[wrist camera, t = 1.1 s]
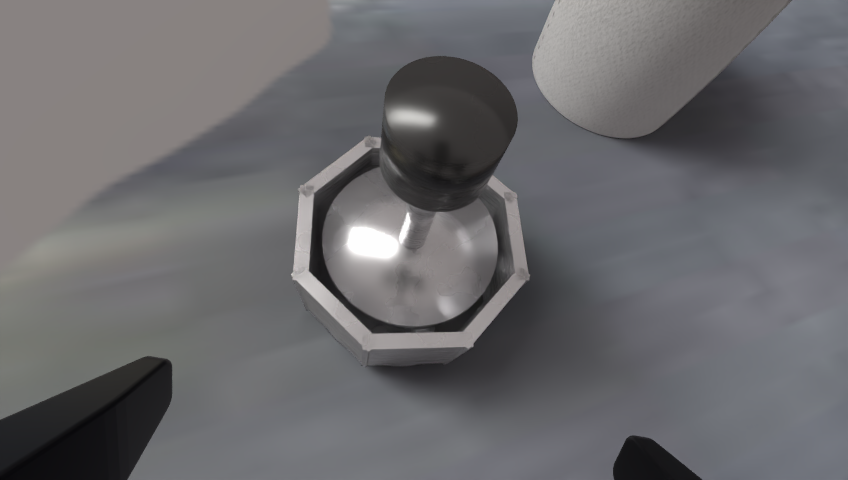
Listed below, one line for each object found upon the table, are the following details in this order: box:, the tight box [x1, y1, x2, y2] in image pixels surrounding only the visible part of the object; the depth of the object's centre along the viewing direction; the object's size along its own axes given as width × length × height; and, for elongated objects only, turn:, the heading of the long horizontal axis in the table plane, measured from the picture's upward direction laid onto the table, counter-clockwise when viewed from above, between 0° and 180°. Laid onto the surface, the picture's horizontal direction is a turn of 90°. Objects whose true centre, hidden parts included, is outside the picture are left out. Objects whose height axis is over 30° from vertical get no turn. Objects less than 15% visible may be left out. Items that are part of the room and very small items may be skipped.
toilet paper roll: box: [532, 0, 792, 138], centre depth 27 cm, size 12×12×12 cm
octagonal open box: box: [291, 136, 530, 367], centre depth 21 cm, size 13×10×6 cm
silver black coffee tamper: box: [322, 56, 518, 329], centre depth 15 cm, size 8×8×9 cm
